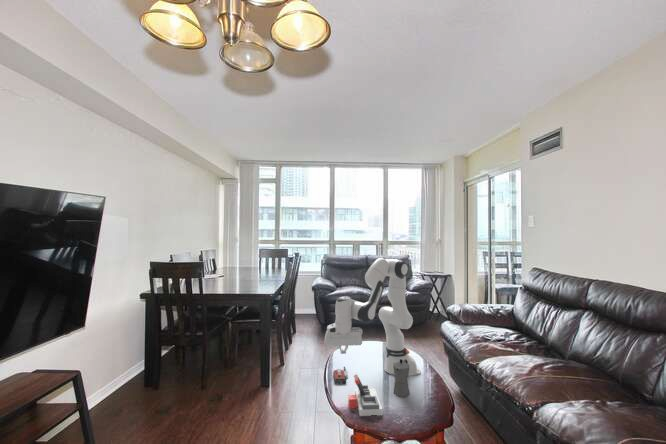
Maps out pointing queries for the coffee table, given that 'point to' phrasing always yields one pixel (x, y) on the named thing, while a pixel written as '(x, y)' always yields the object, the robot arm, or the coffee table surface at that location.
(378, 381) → the coffee table surface
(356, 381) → the lever tagged
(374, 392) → the white compartment tray
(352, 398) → the lockout cap
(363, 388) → the lever plain
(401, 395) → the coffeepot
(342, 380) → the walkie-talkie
